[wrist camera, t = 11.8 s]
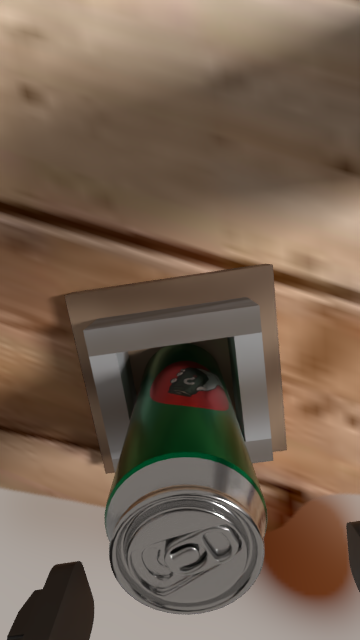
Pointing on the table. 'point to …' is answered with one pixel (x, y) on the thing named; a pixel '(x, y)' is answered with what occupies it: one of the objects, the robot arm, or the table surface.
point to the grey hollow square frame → (177, 328)
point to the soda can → (185, 491)
